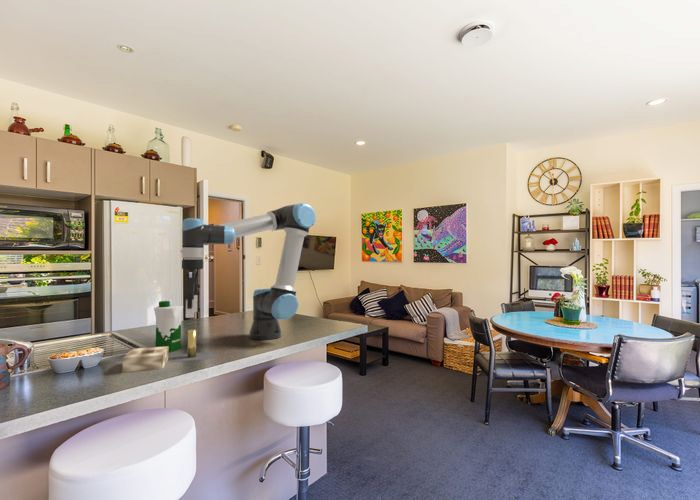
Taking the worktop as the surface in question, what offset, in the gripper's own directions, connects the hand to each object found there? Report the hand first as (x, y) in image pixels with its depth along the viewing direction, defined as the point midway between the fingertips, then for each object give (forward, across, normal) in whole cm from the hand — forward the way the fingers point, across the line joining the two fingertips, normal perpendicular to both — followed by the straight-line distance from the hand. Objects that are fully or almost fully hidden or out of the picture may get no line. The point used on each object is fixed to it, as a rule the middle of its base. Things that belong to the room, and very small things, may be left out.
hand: (191, 314), depth 135 cm
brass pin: (+16, 0, 0) cm, 16 cm away
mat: (+16, 0, 0) cm, 17 cm away
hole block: (+17, +6, -14) cm, 22 cm away
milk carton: (+17, -14, -10) cm, 24 cm away
